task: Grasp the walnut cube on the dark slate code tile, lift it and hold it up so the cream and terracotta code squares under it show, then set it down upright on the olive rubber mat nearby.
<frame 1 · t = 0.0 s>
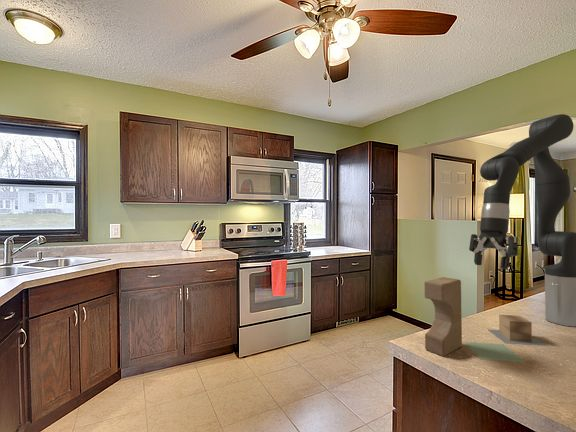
hand: (490, 266, 93), 22 cm above the countertop, tool pointing down, fingers open, 8 cm apart
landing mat: (492, 351, 81), on the countertop
walnut block: (514, 337, 91), resting on code tile
decorative block: (443, 349, 84), on the countertop
code tile: (514, 337, 91), on the countertop
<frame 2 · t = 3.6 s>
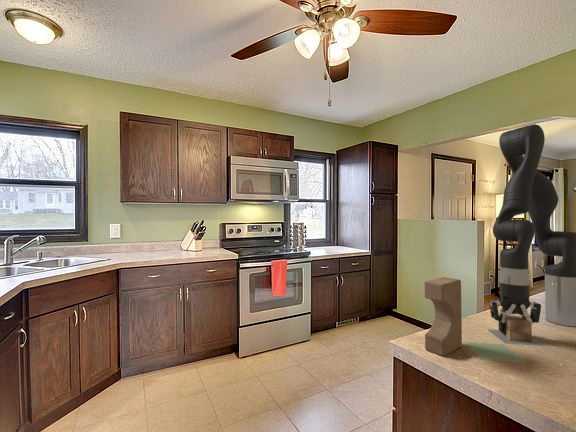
hand: (514, 334, 91), 1 cm above the countertop, tool pointing down, fingers closed on walnut block, 6 cm apart
walnut block: (514, 337, 91), resting on code tile, touching gripper
everything else where it was.
when the fingers open (2 cm above the countertop, at t = 10.8 s): walnut block drops 1 cm, resting on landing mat.
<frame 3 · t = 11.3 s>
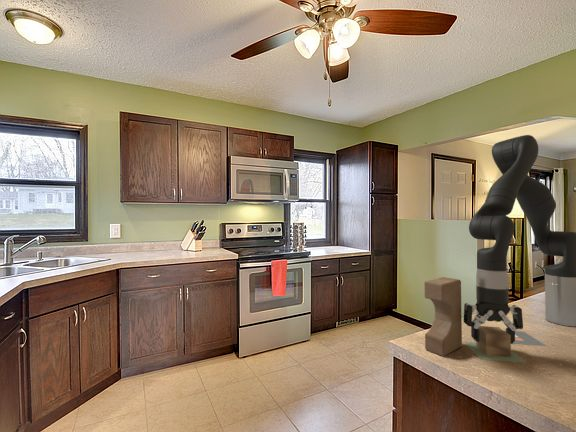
hand: (492, 341, 81), 3 cm above the countertop, tool pointing down, fingers open, 8 cm apart
walnut block: (492, 351, 81), resting on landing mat
everything else where it was.
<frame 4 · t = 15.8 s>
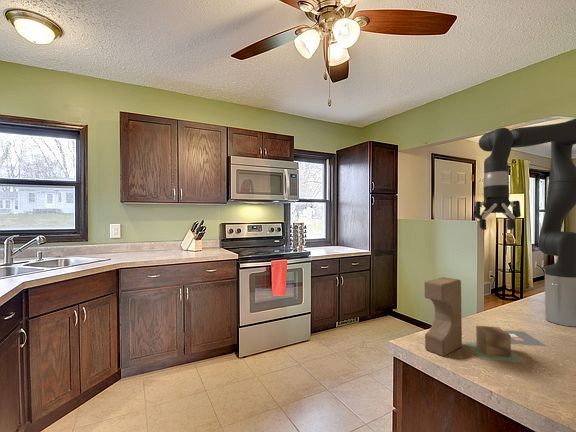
hand: (496, 229, 103), 34 cm above the countertop, tool pointing down, fingers open, 8 cm apart
nothing on the countertop moved.
at the end: walnut block 0.0 cm off-centre on the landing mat, point 0.1 cm above the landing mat's base; walnut block tilted 0°; the gripper is holding nothing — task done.
